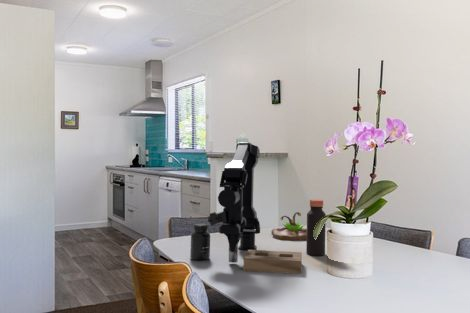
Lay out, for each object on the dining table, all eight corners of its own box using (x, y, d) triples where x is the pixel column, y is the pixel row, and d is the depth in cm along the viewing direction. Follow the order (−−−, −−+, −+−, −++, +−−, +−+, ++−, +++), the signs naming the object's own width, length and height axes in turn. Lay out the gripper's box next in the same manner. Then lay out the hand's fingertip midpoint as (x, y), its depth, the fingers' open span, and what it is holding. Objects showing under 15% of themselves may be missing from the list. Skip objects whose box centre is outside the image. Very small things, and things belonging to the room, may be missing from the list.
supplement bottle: (207, 261, 151) (207, 226, 151) (187, 260, 152) (188, 225, 152) (212, 257, 158) (212, 223, 158) (193, 255, 159) (194, 222, 159)
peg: (229, 260, 150) (229, 230, 150) (238, 260, 149) (238, 230, 149) (227, 262, 147) (228, 232, 147) (236, 262, 146) (237, 232, 146)
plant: (319, 242, 189) (320, 215, 188) (273, 241, 189) (273, 215, 189) (312, 233, 209) (312, 209, 208) (270, 232, 209) (271, 208, 209)
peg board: (248, 261, 152) (248, 249, 152) (301, 264, 150) (301, 252, 150) (243, 270, 141) (243, 257, 141) (301, 273, 138) (301, 260, 138)
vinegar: (302, 254, 164) (303, 200, 164) (312, 251, 169) (313, 198, 169) (318, 257, 160) (319, 201, 160) (328, 254, 165) (329, 200, 164)
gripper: (215, 200, 158) (215, 243, 159) (203, 206, 140) (203, 256, 140) (246, 201, 157) (246, 245, 157) (238, 207, 138) (238, 257, 138)
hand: (233, 250), depth 148 cm, fingers closed on peg, 3 cm apart
